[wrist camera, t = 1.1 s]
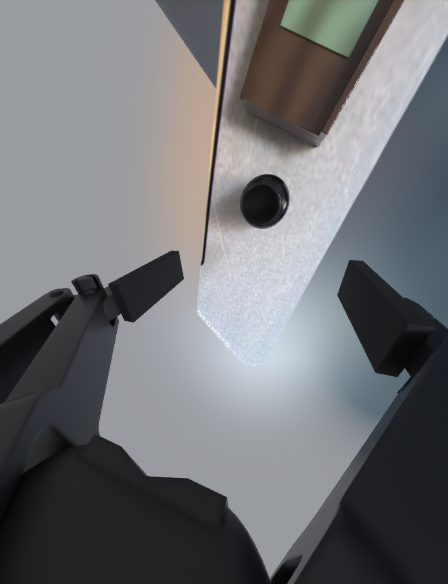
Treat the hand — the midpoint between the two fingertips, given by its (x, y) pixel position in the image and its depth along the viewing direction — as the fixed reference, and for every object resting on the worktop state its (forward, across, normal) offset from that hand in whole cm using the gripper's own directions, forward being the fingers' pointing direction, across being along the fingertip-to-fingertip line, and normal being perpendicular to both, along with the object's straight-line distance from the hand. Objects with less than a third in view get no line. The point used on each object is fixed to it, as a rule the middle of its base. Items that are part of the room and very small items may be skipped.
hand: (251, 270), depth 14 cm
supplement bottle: (+23, -1, +4) cm, 23 cm away
